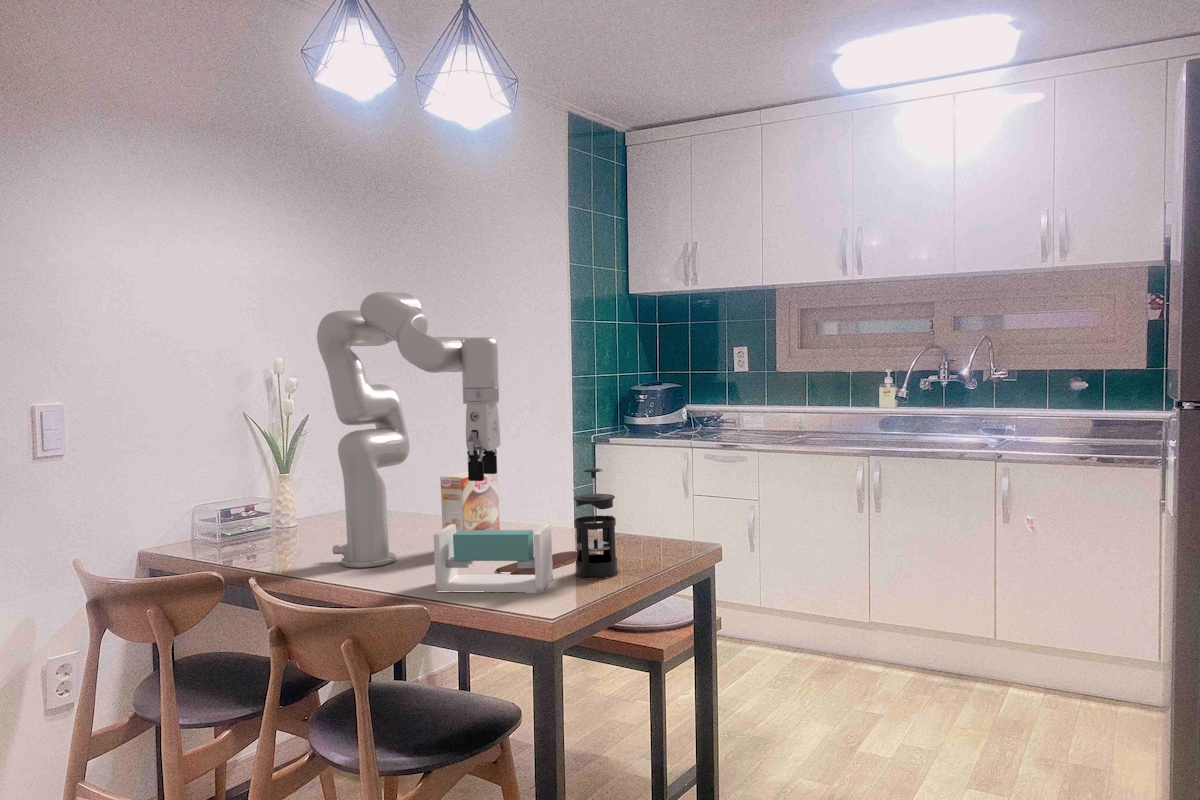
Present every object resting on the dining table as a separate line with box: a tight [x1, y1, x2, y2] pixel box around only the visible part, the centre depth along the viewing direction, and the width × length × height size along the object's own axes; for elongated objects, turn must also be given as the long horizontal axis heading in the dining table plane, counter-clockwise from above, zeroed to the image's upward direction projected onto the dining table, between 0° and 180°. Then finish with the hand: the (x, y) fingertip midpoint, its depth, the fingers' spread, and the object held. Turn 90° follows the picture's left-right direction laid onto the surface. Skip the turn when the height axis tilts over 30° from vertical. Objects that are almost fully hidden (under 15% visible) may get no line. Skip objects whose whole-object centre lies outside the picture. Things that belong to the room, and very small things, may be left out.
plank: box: [453, 529, 535, 562], centre depth 188 cm, size 16×4×6 cm, turn 81°
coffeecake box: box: [439, 470, 500, 532], centre depth 223 cm, size 15×7×20 cm, turn 151°
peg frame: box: [433, 523, 554, 594], centre depth 188 cm, size 22×11×12 cm, turn 81°
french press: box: [573, 467, 619, 579], centre depth 196 cm, size 12×9×23 cm
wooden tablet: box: [495, 550, 597, 575], centre depth 208 cm, size 26×2×10 cm
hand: (483, 477), depth 190 cm, fingers open, 9 cm apart
